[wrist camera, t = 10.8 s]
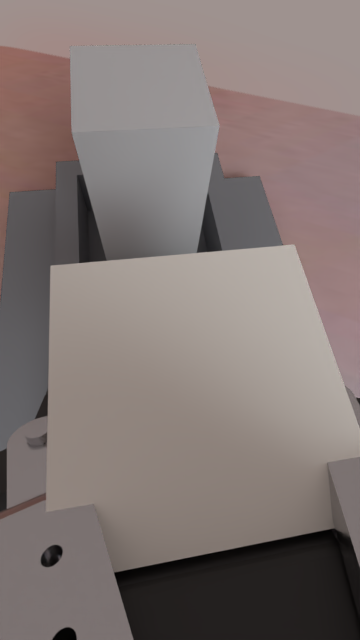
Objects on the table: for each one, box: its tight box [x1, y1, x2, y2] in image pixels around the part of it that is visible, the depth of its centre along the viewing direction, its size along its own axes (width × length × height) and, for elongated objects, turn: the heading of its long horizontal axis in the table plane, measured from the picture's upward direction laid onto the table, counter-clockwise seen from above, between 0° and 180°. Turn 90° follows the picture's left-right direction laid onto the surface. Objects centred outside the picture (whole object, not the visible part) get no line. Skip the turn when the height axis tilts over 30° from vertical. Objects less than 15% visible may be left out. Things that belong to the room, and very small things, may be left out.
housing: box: [0, 44, 283, 551], centre depth 14 cm, size 18×23×12 cm
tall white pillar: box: [46, 245, 360, 572], centre depth 10 cm, size 5×5×10 cm
